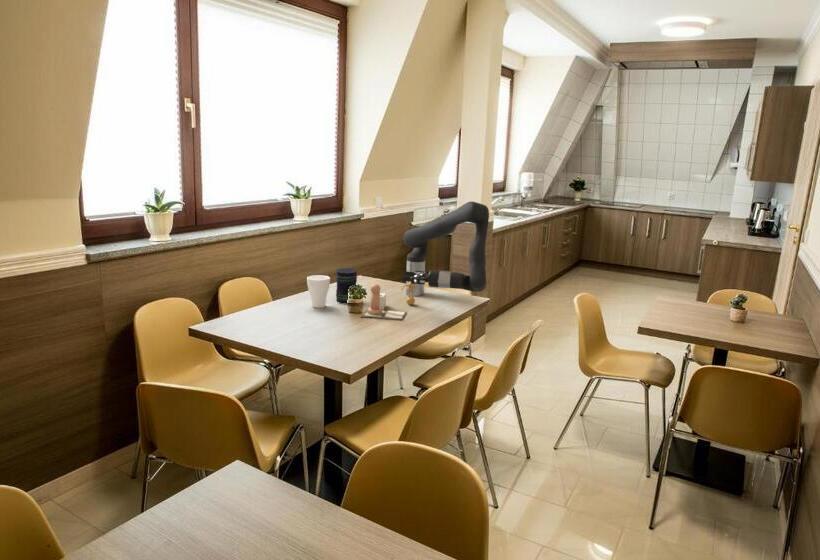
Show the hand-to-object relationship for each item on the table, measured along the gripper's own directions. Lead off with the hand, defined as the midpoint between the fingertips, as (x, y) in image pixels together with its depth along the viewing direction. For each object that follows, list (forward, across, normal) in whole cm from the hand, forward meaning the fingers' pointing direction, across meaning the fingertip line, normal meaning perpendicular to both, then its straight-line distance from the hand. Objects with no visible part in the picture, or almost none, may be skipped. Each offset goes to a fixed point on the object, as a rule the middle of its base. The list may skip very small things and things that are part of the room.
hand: (403, 276), depth 260 cm
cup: (+40, -4, +19) cm, 44 cm away
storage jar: (+30, -16, +19) cm, 39 cm away
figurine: (-1, -16, +18) cm, 24 cm away
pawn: (+12, +3, +17) cm, 21 cm away
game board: (+7, +3, +18) cm, 20 cm away
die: (+13, -9, +18) cm, 24 cm away
